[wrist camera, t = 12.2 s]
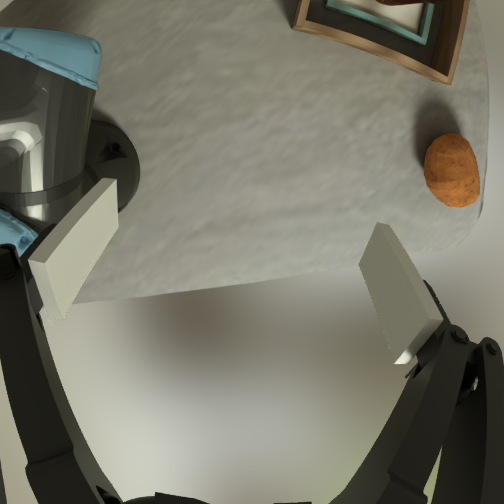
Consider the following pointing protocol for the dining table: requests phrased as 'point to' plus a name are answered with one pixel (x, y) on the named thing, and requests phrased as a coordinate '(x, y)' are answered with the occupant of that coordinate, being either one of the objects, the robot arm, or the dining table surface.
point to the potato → (452, 171)
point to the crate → (398, 31)
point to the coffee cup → (409, 2)
